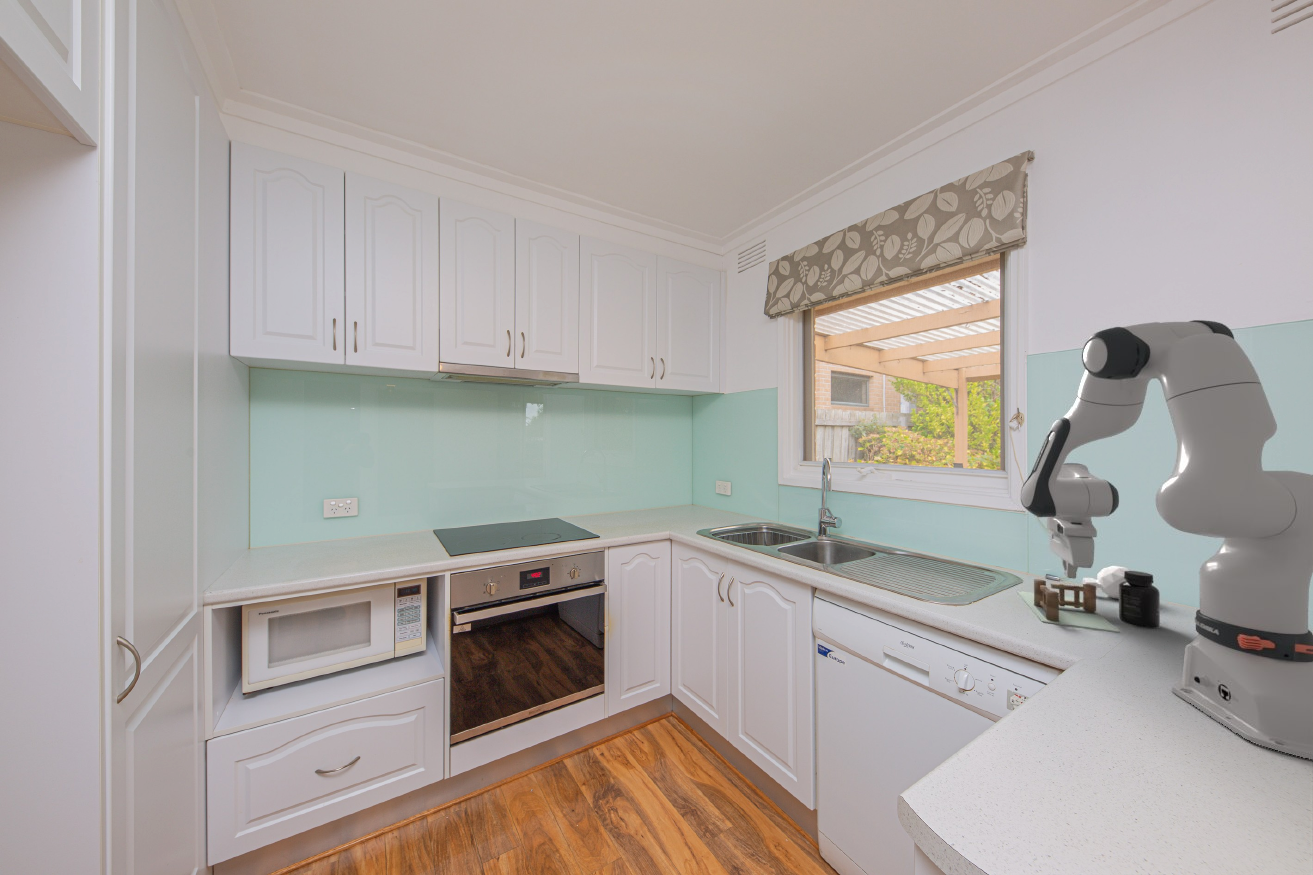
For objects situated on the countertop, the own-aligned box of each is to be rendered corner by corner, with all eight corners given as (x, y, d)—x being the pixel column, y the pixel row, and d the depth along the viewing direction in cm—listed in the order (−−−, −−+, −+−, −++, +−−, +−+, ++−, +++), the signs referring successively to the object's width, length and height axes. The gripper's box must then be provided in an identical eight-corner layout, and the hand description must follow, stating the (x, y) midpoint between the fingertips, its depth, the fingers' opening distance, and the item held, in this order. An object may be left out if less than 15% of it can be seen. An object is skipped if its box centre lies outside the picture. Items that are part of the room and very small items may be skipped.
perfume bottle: (1132, 587, 131) (1078, 587, 135) (1132, 559, 128) (1077, 560, 133) (1150, 607, 123) (1092, 606, 128) (1150, 577, 121) (1091, 577, 126)
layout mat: (1119, 632, 105) (1119, 630, 105) (1041, 622, 112) (1041, 620, 112) (1079, 599, 127) (1079, 597, 127) (1016, 592, 133) (1016, 590, 133)
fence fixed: (1033, 604, 123) (1032, 578, 123) (1044, 606, 122) (1044, 579, 122) (1047, 621, 112) (1047, 592, 112) (1060, 623, 111) (1060, 594, 111)
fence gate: (1053, 607, 119) (1053, 582, 119) (1050, 603, 121) (1049, 580, 121) (1097, 612, 116) (1097, 587, 116) (1093, 608, 118) (1093, 584, 118)
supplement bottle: (1168, 630, 107) (1168, 578, 107) (1133, 627, 108) (1133, 576, 108) (1143, 618, 113) (1143, 569, 113) (1111, 616, 115) (1110, 568, 115)
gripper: (1041, 518, 133) (1043, 566, 133) (1066, 529, 115) (1067, 585, 115) (1070, 519, 130) (1071, 568, 130) (1099, 531, 112) (1101, 589, 112)
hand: (1070, 577), depth 122 cm, fingers closed
